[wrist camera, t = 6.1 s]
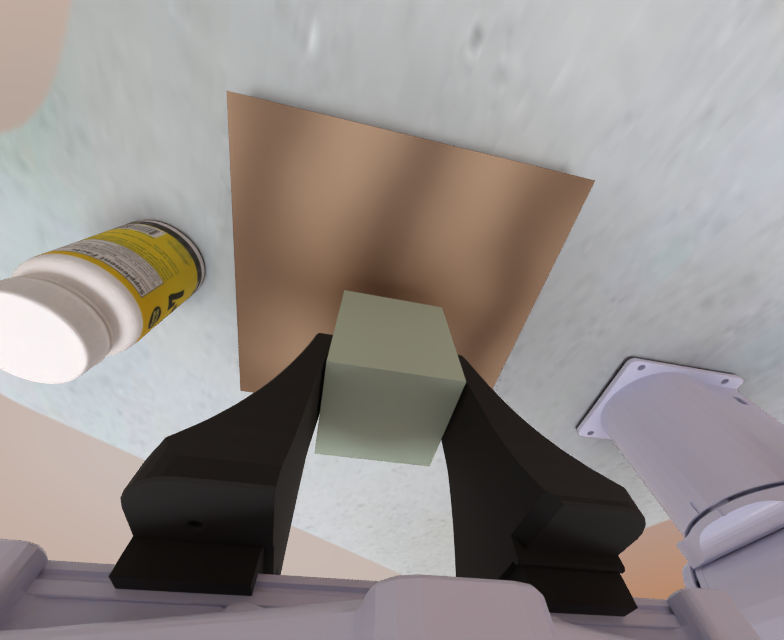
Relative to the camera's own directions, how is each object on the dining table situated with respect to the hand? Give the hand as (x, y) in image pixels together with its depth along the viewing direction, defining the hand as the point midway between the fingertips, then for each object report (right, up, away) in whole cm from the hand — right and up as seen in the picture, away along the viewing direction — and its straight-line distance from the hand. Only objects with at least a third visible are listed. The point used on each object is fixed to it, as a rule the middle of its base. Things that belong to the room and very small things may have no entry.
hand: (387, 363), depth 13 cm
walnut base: (0, +4, +7) cm, 8 cm away
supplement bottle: (-13, +5, +6) cm, 15 cm away
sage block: (0, +1, +3) cm, 3 cm away
